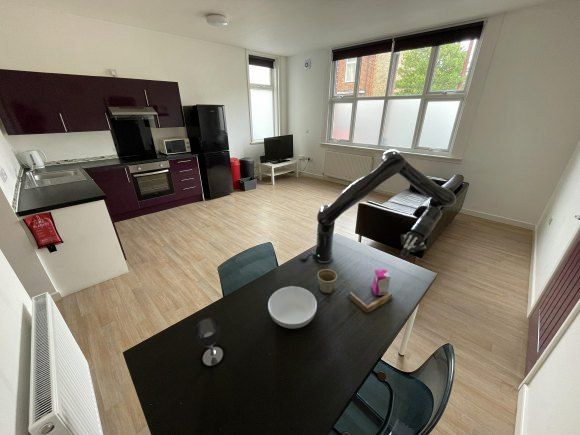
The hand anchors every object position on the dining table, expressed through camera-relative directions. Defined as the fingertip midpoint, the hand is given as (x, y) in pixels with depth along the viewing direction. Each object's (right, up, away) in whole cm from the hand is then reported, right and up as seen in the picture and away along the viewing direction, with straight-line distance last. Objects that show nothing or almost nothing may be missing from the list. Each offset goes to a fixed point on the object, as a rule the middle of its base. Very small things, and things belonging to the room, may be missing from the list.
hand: (402, 255), depth 113 cm
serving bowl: (-52, -25, -9) cm, 58 cm away
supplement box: (-10, -18, +4) cm, 21 cm away
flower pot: (-35, -18, +6) cm, 40 cm away
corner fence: (-15, -20, 0) cm, 25 cm away
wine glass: (-82, -33, -26) cm, 92 cm away
